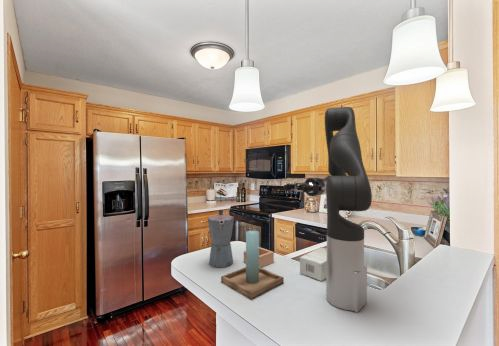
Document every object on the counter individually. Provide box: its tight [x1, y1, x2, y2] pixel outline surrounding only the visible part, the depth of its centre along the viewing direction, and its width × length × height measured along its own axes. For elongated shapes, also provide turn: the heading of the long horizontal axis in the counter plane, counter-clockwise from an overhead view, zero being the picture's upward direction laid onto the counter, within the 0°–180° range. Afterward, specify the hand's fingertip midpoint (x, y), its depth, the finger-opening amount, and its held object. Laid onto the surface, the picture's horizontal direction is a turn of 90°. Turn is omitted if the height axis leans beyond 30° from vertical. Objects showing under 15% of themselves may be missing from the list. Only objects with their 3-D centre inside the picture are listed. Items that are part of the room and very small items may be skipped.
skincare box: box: [299, 246, 327, 282], centre depth 82 cm, size 8×6×15 cm
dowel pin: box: [245, 230, 260, 284], centre depth 73 cm, size 4×4×15 cm
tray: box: [220, 266, 285, 300], centre depth 73 cm, size 14×14×2 cm
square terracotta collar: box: [243, 246, 275, 268], centre depth 89 cm, size 8×8×4 cm
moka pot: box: [207, 209, 235, 269], centre depth 89 cm, size 10×15×20 cm, turn 14°
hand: (293, 188), depth 87 cm, fingers open, 8 cm apart
